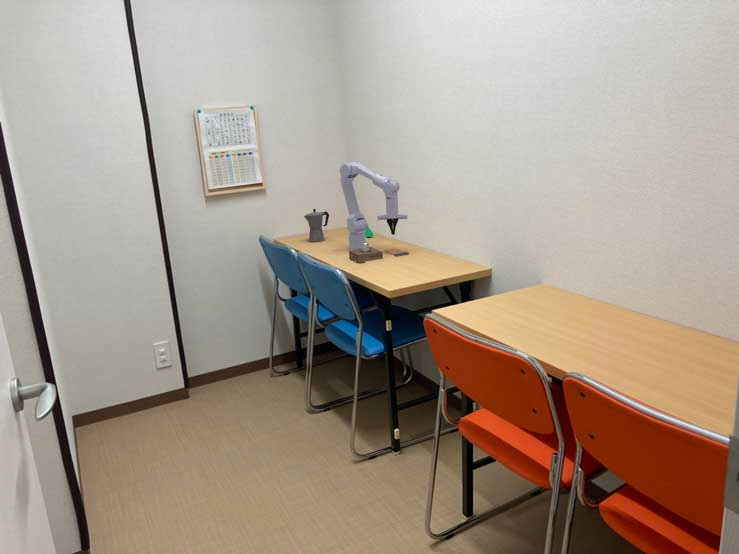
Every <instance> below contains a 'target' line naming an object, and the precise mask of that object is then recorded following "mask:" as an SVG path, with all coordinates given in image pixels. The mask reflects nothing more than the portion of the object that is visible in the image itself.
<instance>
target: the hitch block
mask: <svg viewBox="0 0 739 554" xmlns="http://www.w3.org/2000/svg"><path fill="white" fill-rule="evenodd" d="M383 253H384V252H383V251H382V250H380V249H377V248H375V247H372V246H369V252H364V253H363V252H362V249H357V250H348V256H349V257H348V258H349V260H351V261H353V260H354V261H353V262H355V261H356V262H355V263H357V262H358V263H357V264H359V263H361V264H366V262H370V261H375V260H381V259H384V256H383V255H384V254H383Z"/></svg>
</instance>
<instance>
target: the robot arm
mask: <svg viewBox="0 0 739 554" xmlns="http://www.w3.org/2000/svg"><path fill="white" fill-rule="evenodd" d="M339 174H340V184H341V189H342V192H343V196H344V199H345V203H346V206H347V207H346V208H347V211H348V214H349V215H348V217H347V219H346V222H347V226H346V227H347V228H346V229H347V231H348V232H349V234H350V235H349V234H348V245H349V247H348V248H347V249H348V251H351V250H357V249H362V243H363V242H367V241H366V239H365V232H366V229H367V227H369V224H368V222H367V221H368V220H366V217H365V215H364V214H363V213H361V210H360V207H359V203H358V200H357V196H356V193H355V192H356V191H355V188H354V184H353V182H354V180H355V178H356V177H357V176H359V175H361V176H362V177H365V178H367V179H369V180H370V181H372V184H373V185H374V186H376V187H378V188H380V189H381V190H382V191H383V193H384V196H385V209H386V210H385V214H382V215H377V221H383V220H384V221H386V223H387V225H388V227H389V230H390V234H391V235H392V236H394V235H395V234H396V229H397V226H398V225H397V224H398V221H399V220H408V219H409V217H408V214H399V197H398V192H399V190H400V183H399V181H397V180H395V179H392V180H391V178H389V177H386V176H384V174H383V173H380V172H379V173H378V172H377V173H375V172H374V171H372V170H371V169H369V168H368V167H366V166H364V165H363V163H362V162H359V161H353V162H352V161H351V162H345V163H343V164H341V166H340V167H339Z"/></svg>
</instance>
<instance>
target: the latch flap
mask: <svg viewBox="0 0 739 554" xmlns="http://www.w3.org/2000/svg"><path fill="white" fill-rule="evenodd" d="M384 252H385V253H387V254H390V255H393V256H394V254H395V253H401V252H403V251H402V250H400V249H397V247H394V248H386V249H384Z"/></svg>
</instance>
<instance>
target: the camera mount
mask: <svg viewBox="0 0 739 554" xmlns="http://www.w3.org/2000/svg"><path fill="white" fill-rule="evenodd" d="M349 235H350V233H348V236H349ZM368 237H374V233H373V231H372V229H370V227H369V226H368V227H367V229H366V232H365V238H367V239H368Z"/></svg>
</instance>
